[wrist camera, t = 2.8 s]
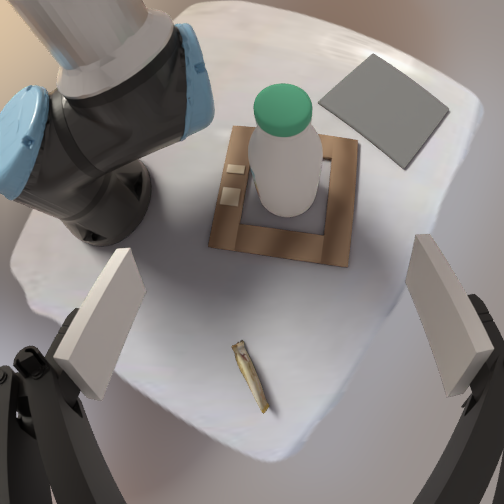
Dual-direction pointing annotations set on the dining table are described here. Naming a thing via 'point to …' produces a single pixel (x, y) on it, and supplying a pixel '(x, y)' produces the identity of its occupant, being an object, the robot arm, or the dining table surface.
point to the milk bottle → (285, 150)
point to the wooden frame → (283, 241)
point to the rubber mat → (386, 108)
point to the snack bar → (250, 375)
